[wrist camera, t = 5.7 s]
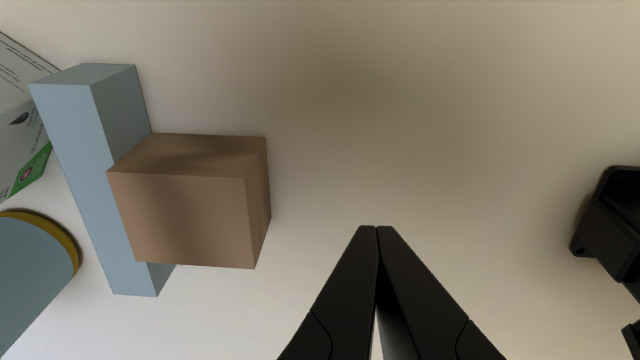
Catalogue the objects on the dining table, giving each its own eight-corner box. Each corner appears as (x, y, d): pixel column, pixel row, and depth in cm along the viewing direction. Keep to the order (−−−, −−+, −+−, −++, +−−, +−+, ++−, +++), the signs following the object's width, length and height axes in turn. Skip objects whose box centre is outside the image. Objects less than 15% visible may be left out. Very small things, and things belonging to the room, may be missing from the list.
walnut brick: (265, 136, 22) (243, 178, 17) (271, 216, 25) (254, 269, 20) (153, 131, 22) (105, 171, 18) (173, 211, 25) (135, 261, 21)
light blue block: (134, 64, 20) (89, 85, 16) (181, 255, 27) (156, 297, 24) (82, 63, 20) (26, 83, 17) (143, 252, 27) (113, 294, 24)
